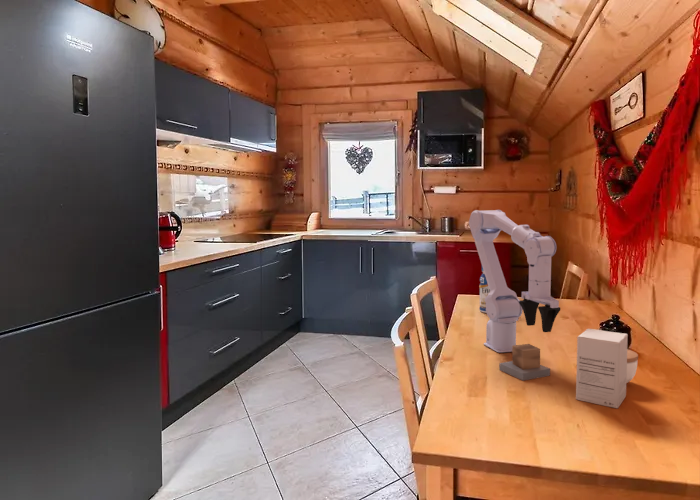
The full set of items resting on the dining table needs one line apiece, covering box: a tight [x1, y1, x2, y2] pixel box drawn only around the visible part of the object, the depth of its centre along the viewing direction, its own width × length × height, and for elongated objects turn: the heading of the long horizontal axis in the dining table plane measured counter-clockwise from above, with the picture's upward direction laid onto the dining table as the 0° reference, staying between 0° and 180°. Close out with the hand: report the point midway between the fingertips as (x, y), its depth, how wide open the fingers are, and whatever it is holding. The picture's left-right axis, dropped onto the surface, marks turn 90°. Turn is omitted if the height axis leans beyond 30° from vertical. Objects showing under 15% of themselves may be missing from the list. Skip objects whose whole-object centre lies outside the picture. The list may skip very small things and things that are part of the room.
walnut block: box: [511, 343, 541, 370], centre depth 133 cm, size 5×5×5 cm
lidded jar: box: [626, 348, 639, 384], centre depth 125 cm, size 11×11×9 cm
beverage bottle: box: [478, 266, 490, 314], centre depth 206 cm, size 8×8×20 cm
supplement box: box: [575, 328, 629, 409], centre depth 115 cm, size 9×9×15 cm
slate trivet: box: [498, 360, 551, 381], centre depth 133 cm, size 9×9×2 cm
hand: (538, 328), depth 140 cm, fingers open, 7 cm apart
